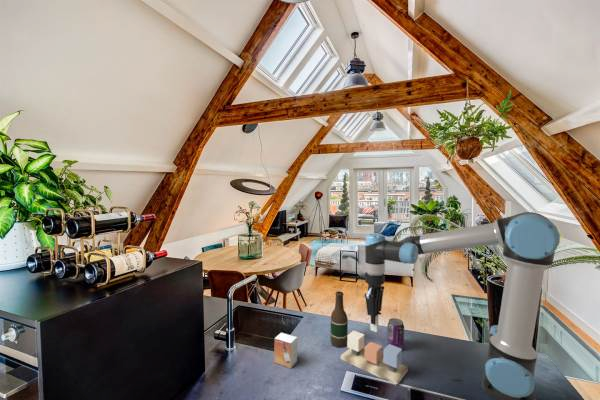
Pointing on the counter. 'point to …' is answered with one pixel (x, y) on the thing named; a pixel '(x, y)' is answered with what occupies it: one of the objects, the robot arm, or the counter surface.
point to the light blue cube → (392, 356)
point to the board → (375, 366)
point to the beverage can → (395, 333)
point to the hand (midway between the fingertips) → (374, 330)
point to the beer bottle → (339, 323)
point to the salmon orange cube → (373, 352)
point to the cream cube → (355, 341)
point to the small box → (285, 350)
